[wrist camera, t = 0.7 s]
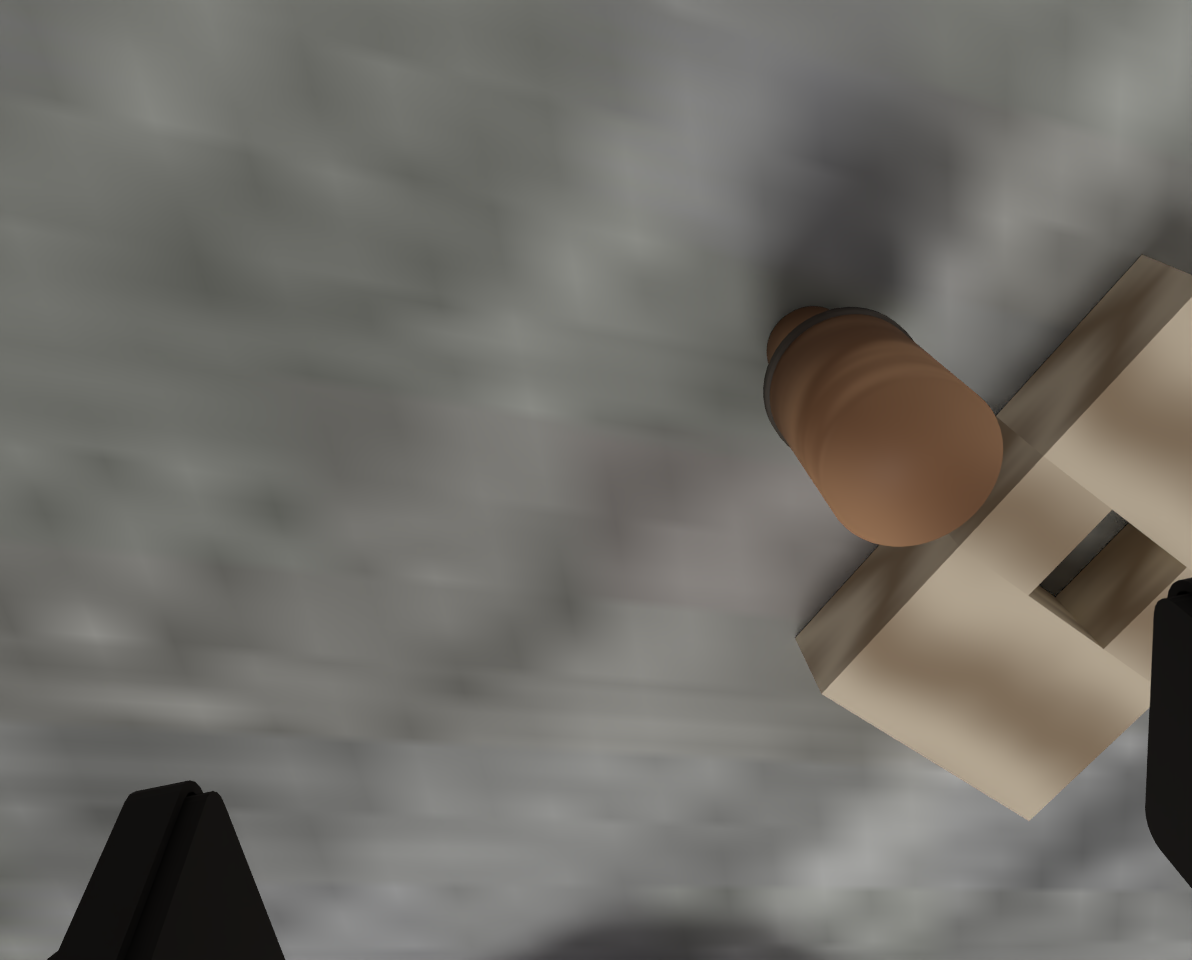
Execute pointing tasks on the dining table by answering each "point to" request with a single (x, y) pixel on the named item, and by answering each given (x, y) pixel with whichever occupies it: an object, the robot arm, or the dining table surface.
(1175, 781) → the robot arm
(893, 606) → the board
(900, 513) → the peg
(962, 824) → the dining table surface
